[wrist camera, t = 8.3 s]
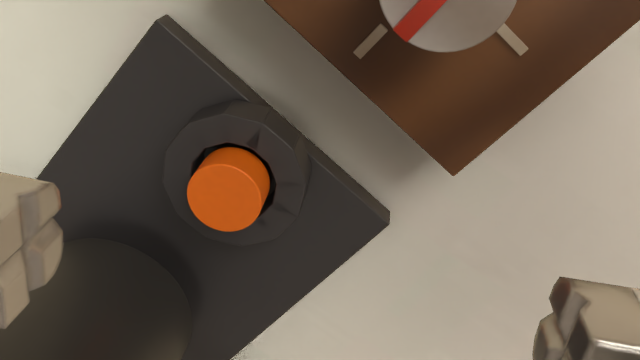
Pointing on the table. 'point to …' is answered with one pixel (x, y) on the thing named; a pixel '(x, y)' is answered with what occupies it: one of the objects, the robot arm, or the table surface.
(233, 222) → the button
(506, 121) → the dial panel
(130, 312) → the kettle
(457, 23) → the dial
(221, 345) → the button base
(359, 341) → the table surface
